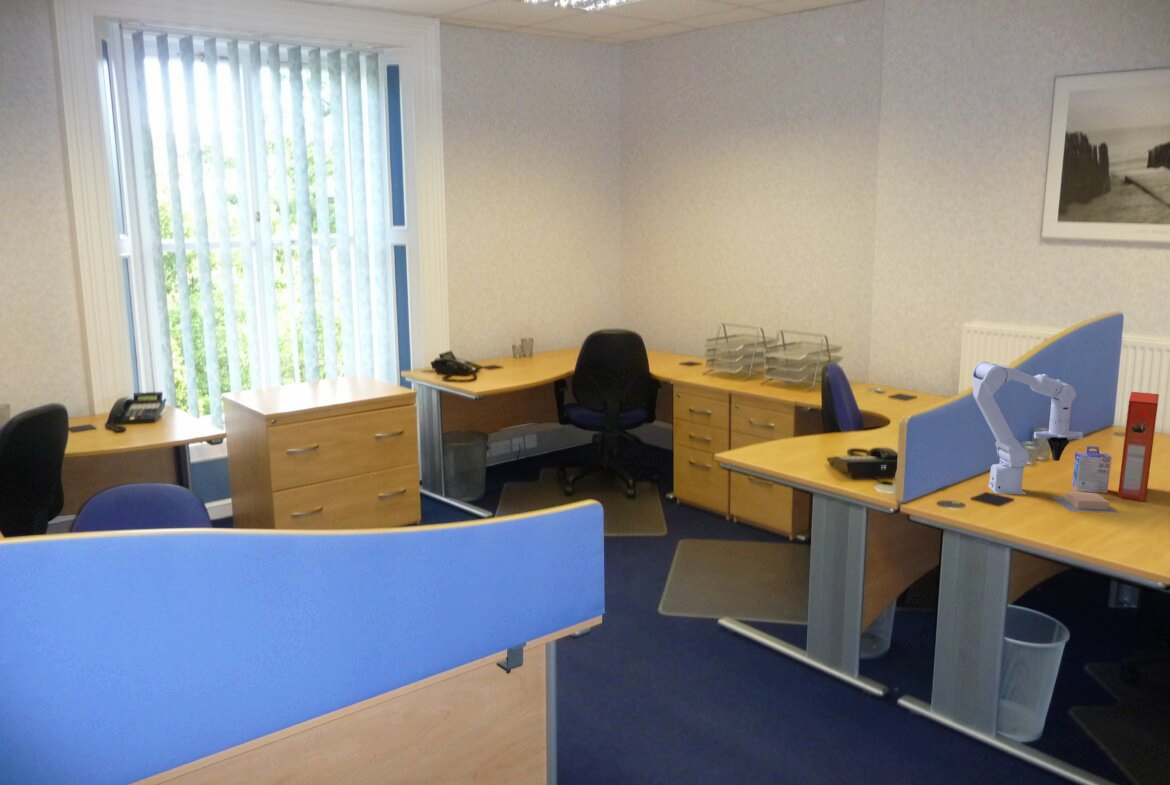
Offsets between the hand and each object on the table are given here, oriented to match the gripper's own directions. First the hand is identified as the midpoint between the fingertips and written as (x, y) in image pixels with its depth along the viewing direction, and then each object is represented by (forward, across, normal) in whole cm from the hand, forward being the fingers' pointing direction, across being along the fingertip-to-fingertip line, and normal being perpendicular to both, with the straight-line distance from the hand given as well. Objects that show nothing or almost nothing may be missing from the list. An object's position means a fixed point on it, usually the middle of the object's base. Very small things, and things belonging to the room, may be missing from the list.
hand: (1055, 460), depth 302 cm
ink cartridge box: (+11, +12, +2) cm, 17 cm away
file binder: (+11, +25, 0) cm, 27 cm away
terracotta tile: (+9, 0, -15) cm, 17 cm away
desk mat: (+10, +3, -15) cm, 19 cm away
